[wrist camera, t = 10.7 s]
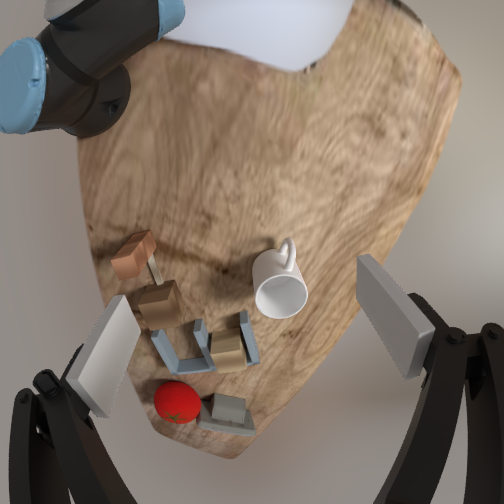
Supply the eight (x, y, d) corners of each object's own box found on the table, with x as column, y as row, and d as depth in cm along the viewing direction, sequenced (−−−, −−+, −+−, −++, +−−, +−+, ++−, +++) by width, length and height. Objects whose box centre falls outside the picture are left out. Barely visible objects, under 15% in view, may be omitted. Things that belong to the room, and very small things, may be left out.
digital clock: (193, 400, 68) (190, 431, 59) (207, 385, 65) (205, 418, 56) (242, 416, 73) (243, 446, 63) (259, 403, 70) (262, 434, 60)
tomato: (160, 369, 62) (152, 402, 53) (206, 382, 65) (203, 415, 55) (155, 393, 67) (148, 423, 57) (197, 403, 69) (194, 434, 59)
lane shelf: (155, 325, 56) (150, 337, 53) (247, 310, 56) (247, 322, 52) (174, 363, 61) (172, 375, 58) (258, 351, 61) (259, 363, 57)
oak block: (212, 331, 58) (210, 354, 51) (239, 327, 57) (240, 349, 51) (219, 350, 60) (218, 373, 54) (245, 346, 60) (246, 369, 54)
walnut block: (128, 235, 48) (104, 261, 38) (156, 228, 48) (137, 253, 38) (158, 309, 55) (145, 344, 45) (184, 304, 54) (175, 341, 44)
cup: (247, 282, 53) (249, 314, 44) (263, 223, 48) (269, 246, 39) (288, 290, 54) (297, 322, 45) (307, 234, 50) (323, 258, 40)
